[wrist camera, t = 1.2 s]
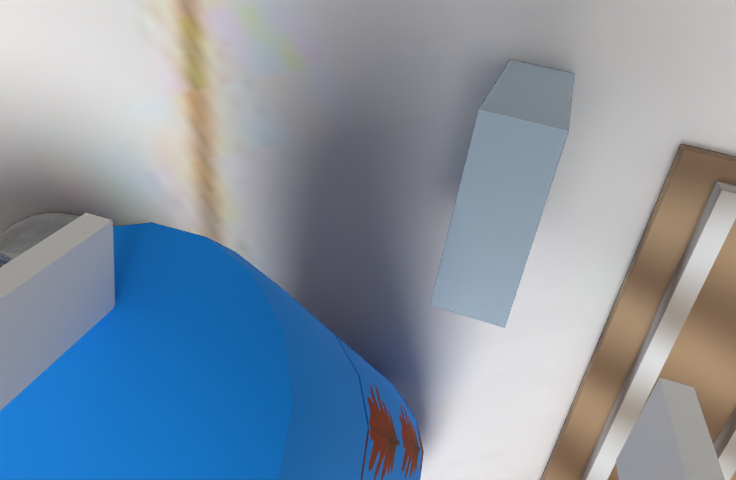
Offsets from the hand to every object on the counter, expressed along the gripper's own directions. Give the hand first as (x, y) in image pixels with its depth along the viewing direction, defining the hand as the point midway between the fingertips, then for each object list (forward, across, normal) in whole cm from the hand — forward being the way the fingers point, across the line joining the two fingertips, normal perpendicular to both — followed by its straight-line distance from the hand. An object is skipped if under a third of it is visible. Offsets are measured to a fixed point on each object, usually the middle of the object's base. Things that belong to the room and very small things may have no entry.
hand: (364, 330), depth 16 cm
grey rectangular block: (+18, +4, 0) cm, 18 cm away
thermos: (+15, -2, -21) cm, 26 cm away
